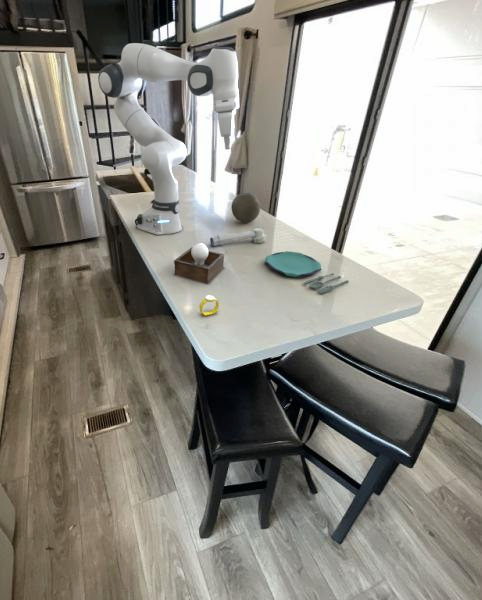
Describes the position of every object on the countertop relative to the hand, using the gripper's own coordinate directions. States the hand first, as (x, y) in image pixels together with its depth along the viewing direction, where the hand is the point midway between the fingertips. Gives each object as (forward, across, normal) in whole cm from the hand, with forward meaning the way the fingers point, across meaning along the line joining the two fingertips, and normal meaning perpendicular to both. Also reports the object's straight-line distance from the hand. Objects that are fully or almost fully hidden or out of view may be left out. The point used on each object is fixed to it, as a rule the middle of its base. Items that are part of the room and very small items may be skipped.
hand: (228, 147), depth 119 cm
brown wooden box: (+38, +28, -11) cm, 48 cm away
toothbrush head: (+40, -2, +2) cm, 40 cm away
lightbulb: (+38, +28, -11) cm, 48 cm away
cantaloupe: (+41, -30, +4) cm, 51 cm away
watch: (+38, +54, -5) cm, 66 cm away
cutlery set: (+43, +22, +26) cm, 55 cm away
